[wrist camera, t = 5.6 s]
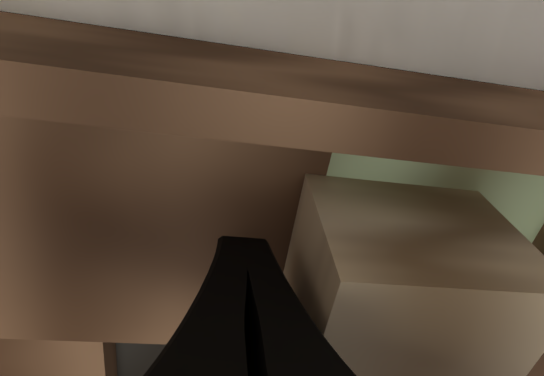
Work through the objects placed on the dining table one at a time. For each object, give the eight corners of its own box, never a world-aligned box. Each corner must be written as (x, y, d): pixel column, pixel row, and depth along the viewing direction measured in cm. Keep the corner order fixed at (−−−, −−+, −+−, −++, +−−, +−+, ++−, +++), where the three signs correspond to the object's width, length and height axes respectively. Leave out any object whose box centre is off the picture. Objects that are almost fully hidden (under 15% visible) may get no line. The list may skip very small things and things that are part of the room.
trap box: (584, 97, 12) (720, 153, 9) (405, 416, 21) (440, 510, 17) (-493, -62, 8) (-1004, -72, 5) (-175, 411, 17) (-281, 529, 13)
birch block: (478, 191, 11) (586, 296, 8) (418, 315, 14) (480, 437, 10) (305, 173, 10) (341, 281, 7) (275, 309, 13) (290, 437, 10)
